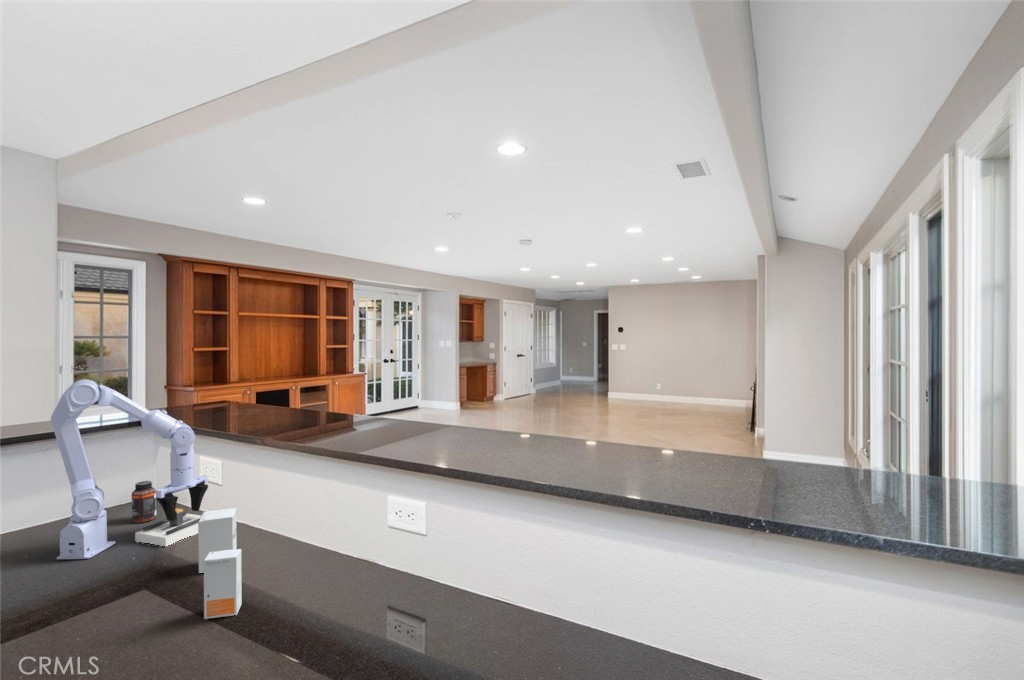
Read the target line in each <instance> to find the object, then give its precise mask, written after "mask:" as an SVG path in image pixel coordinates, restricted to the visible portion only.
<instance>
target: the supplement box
mask: <svg viewBox="0 0 1024 680" xmlns="http://www.w3.org/2000/svg"><path fill="white" fill-rule="evenodd" d="M197 535H198V537H197V538H198V574H199V573H204V560H205V558H206V557H207V555H208V554H209V552H216V551H223V550H235V549H237V548H238V547H237V542H238V541H237V507H230V508H223V509H216V510H215V509H214V510H209V511H203V512H202V514H201V518H200V520H199V522H198V533H197Z"/></svg>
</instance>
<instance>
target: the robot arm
mask: <svg viewBox="0 0 1024 680" xmlns="http://www.w3.org/2000/svg"><path fill="white" fill-rule="evenodd" d="M96 402H97V406H98V407H100V406H101V407H105V406H107V407H108V406H109V407H110V406H111V407H113V408H116V409H117V410H119V411H121V412H123V413H125V414H127V415H129V416H131V417H132V418H135V419H137V420H139V421H140V422H141V427H142V428H143V429H145V430H147V431H149V432H150V433H152V434H154V435H156V436H158V437H160V438H162V439H163V440H169V441H170V443H171V444H170V452H169V453H170V454H169V459H170V460H169V461H170V462H169V463H170V484H168V485H166V486H164V487H162V488H159V489H155V490H156V501H157V502H158V503H159V504H160V506H161V509H162V510H163V512H164V513H165V517H166V518H165V519H167V520H170V521H173V520H175V509H176V508H177V503H178V499H179V497H178V496H176V495H175V493H178V492H181V491H184V490H185V491H186V490H187V489H188V492H189V498H190V507H191V511H194V512H199V511H200V509H201V505H202V501H203V499H204V496H205V493H206V492H207V490H208V489H209V485H208V483H209V476H207V475H200V476H196V475H195V472H196V471H195V450H194V447H195V446H194V445H195V444H194V442H195V440H196V434H195V431H194V430H193V428H191V427H190V426H189V425H188V424H187V423H184V421H183V420H181V419H179V420H178V419H175V418H174V417H172V416H171V415H169V414H168V411H166V410H165V409H162V410H160V409H152V410H150V409H147V408H145V407H144V406H143V405H140V404H139V403H137V402H135V401H134V400H132V399H130V398H129V397H127V396H125V394H122V393H120V392H118V391H117V390H115V389H113V388H110V387H108V386H106V385H103V384H100V385H99V384H98V382H96V381H94V380H91V379H87V378H83V379H80V380H79V379H78V380H76V381H74V382H73V383H72V384H71V385H70V386H69V387H68V388H66V390H64V392H63V393H62V394H61V396H60V399H59V400H58V402H57V405H56V406H55V408H54V410H53V412H52V414H51V416H50V422H51V425H52V429H53V432H54V436H55V438H56V443H57V445H58V448H59V451H60V454H61V455H60V456H61V459H62V461H63V465H64V468H65V472H66V475H67V477H68V481H69V485H70V489H71V497H72V499H73V500H72V501H73V502H72V506H71V513H72V514H71V515H70V518H69V519H70V520H69V522H68V524H66V526H64V527H63V528H62V529H61V531H60V533H59V555H58V556H57V557H56V560H88V559H91V558H92V557H94V556H96V555H98V554H100V553H101V552H103V551H105V550H107V549H108V548H110V547H112V546H113V545H115V544H116V542H117V541H114V540H113V541H108V525H107V524H108V520H107V515H108V514H107V509H104V507H105V504H104V499H105V493H104V491H103V489H102V488H100V487H99V486H98V485H97V482H96V479H95V478H94V475H93V472H92V469H91V465H90V462H89V459H88V455H87V452H86V448H85V446H84V442H83V439H82V435H81V432H80V429H79V426H78V421H77V419H78V418H79V417H80V416H81V414H82V413H83V412H84V410H86V409H88V408H89V407H91V406H92V405H94V404H95V403H96ZM195 476H196V477H195Z"/></svg>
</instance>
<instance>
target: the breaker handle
mask: <svg viewBox="0 0 1024 680" xmlns="http://www.w3.org/2000/svg"><path fill="white" fill-rule="evenodd" d="M183 513H184V509H183V508H179V507H176V509H175V520H173V521H170V520H169V521H170V523H169V525H176V526H178V525H181V524H183Z"/></svg>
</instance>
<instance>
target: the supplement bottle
mask: <svg viewBox="0 0 1024 680" xmlns="http://www.w3.org/2000/svg"><path fill="white" fill-rule="evenodd" d="M152 483H153V482H152V481H151V480H143V481H139V482H136V483H135V485H134V486H135V487H134V488H135V489H134V490H133V491H132V492H131V517H132V522H133V523H136V524H139V523H142V522H143V523H147V521H148V522H151V521H153V520H155V519H156V518H157V498H156V490H157V489H156V488H154V487H153V484H152ZM150 520H151V521H150Z"/></svg>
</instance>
